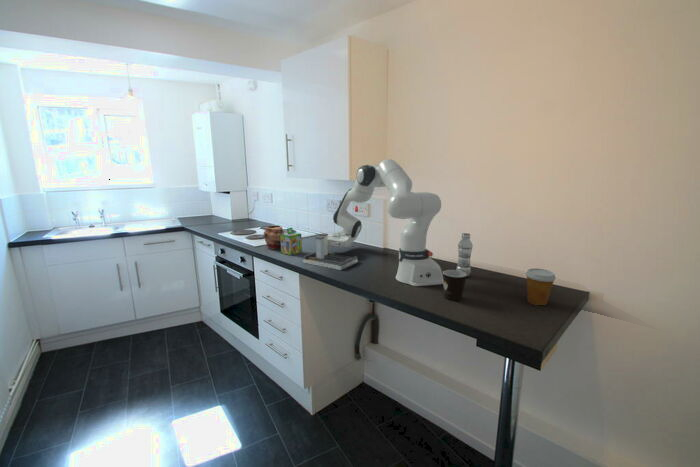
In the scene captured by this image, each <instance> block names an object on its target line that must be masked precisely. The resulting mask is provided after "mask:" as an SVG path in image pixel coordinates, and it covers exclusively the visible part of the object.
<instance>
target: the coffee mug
mask: <svg viewBox="0 0 700 467" xmlns="http://www.w3.org/2000/svg"><path fill="white" fill-rule="evenodd" d="M442 274H443V284H442V285H443V298H444V299H445V300H447V301H449V302H460V301H461V300H462V299H463V298H462V297H463V294H464V288H465V283H466V280H467V277H466V273H464V272H462V271H458V270H456V269H447V270H442Z"/></svg>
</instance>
